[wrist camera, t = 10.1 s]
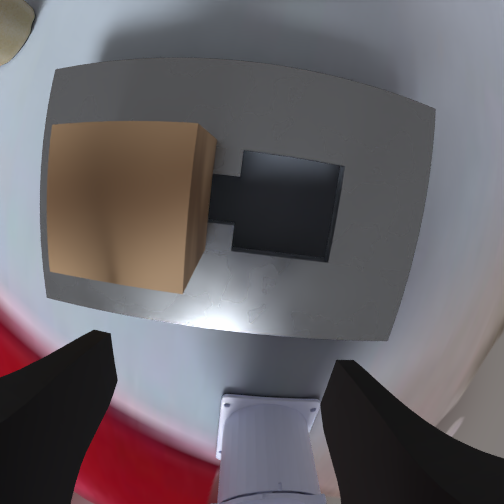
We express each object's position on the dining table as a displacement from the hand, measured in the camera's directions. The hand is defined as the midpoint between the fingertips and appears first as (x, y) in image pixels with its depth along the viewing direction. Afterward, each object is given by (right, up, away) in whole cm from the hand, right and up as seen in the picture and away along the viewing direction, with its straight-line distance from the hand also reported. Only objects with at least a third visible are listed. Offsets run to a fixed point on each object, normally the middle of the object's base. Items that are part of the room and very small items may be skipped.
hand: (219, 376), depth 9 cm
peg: (-3, +7, +6) cm, 10 cm away
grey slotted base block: (0, +7, +9) cm, 11 cm away
